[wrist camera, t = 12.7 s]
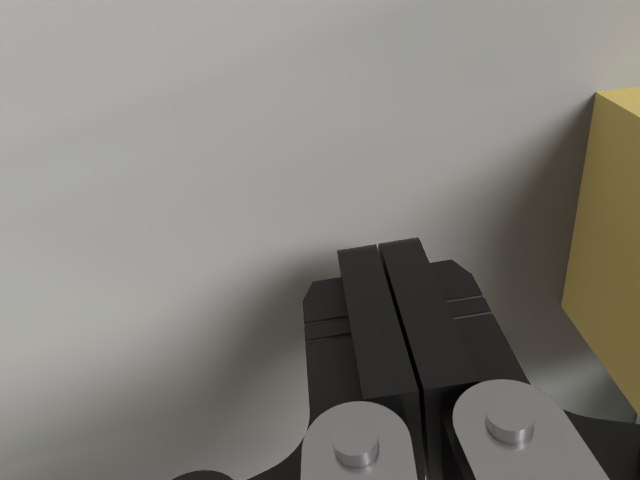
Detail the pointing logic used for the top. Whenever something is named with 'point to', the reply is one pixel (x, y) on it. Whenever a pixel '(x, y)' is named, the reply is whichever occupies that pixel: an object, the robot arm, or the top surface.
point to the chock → (609, 241)
